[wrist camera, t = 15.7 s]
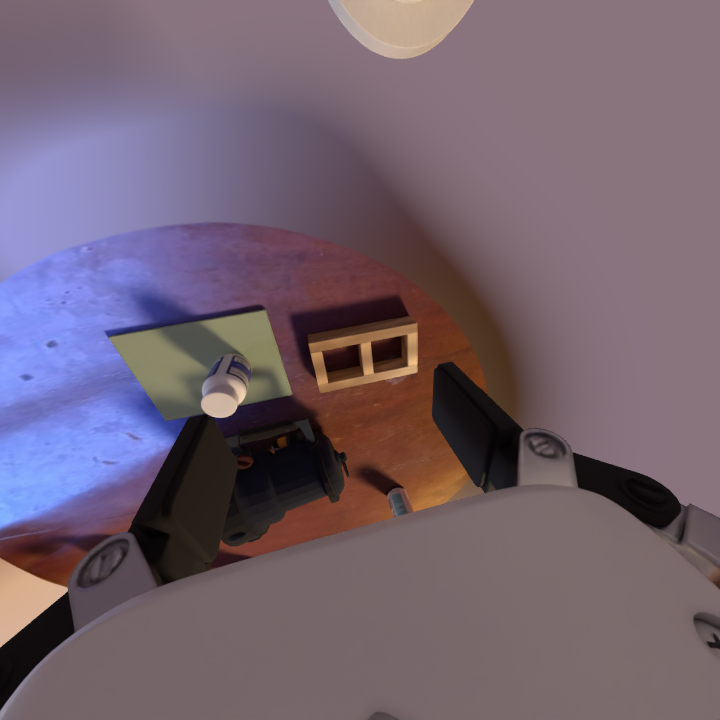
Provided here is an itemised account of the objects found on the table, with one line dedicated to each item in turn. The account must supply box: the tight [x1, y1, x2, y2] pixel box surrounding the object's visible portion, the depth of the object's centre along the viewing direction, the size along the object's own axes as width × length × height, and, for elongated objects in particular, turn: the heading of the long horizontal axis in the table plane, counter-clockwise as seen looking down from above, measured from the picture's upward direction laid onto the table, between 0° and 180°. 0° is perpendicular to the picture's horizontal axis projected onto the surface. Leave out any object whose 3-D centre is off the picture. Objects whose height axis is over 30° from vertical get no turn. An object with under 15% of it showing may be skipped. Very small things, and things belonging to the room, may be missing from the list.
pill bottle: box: [201, 354, 252, 418], centre depth 35 cm, size 5×5×9 cm
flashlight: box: [221, 418, 349, 546], centre depth 42 cm, size 15×21×20 cm
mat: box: [108, 309, 292, 421], centre depth 38 cm, size 15×20×1 cm
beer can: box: [387, 488, 413, 517], centre depth 59 cm, size 5×5×12 cm
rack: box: [308, 316, 417, 393], centre depth 41 cm, size 9×16×3 cm, turn 96°
